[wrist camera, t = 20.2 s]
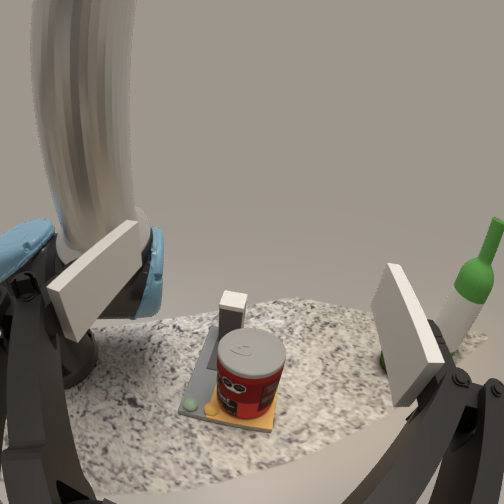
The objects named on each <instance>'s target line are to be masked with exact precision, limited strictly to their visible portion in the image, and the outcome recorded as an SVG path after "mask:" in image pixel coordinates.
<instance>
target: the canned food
mask: <svg viewBox="0 0 504 504" xmlns="http://www.w3.org/2000/svg"><path fill="white" fill-rule="evenodd" d="M285 358H286V350H285V347H284V345H283V343H282V342H281V341H280V340H279V339H278V338H277V337H276V336H274V335H273V334H271V333H269V332H267V331H264V330H261V329H256V328H241V329H236V330H234V331H231V332H229V333H227V334H226V335H225V336H224V337H223V338H222V339H221V340H220V342H219V345H218V349H217V400H218V402H219V404H220V406H221V407H222V408H223V410H224V411H225V412H227V413H228V414H230V415H231V416H234V417H236V418H240V419H252V418H256V417H259V416H261V415H263V414H264V413H265V412H266V411H268V410H269V408H270V407H271V405H272V403H273V400H274V397H275V394H276V391H277V387H278V384H279V381H280V378H281V374H282V371H283V367H284V363H285Z"/></svg>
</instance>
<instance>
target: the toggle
mask: <svg viewBox="0 0 504 504" xmlns="http://www.w3.org/2000/svg"><path fill="white" fill-rule="evenodd" d="M246 301H247V294H243V293H237V292H231V291H225V292H224V294H223V297H222V299H221V301H220V304H219V308H220V310H219V336H218V341H220V340H221V339H222V338H223V337H224V336H225V335H226V334H227V333H229V332H231V331H234V330H236V329H241V328H243V327H244V319H245V310H246Z"/></svg>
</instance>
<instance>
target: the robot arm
mask: <svg viewBox="0 0 504 504" xmlns="http://www.w3.org/2000/svg"><path fill="white" fill-rule="evenodd" d="M136 2H137V0H33V5H32V18H31V42H30V45H31V47H30V54H31V80H32V93H33V102H34V111H35V118H36V125H37V132H38V137H39V142H40V148H41V153H42V158H43V162H44V167H45V171H46V175H47V179H48V183H49V187H50V191H51V195H52V198H53V202H54V205H55V208H56V212H57V215H58V218H59V221H60V224H61V228H60V230H59V232H58V233H55V232H54V231H55V227H54V226H53V224H52V222H51V221H50V220H47V219H35V220H31V221H28V222H25V223H23V224H20V225H18V226H16V227H14V228H12V229H10V230H9V231H7V232H6V233H4V234H3V235H1V236H0V331H1V333H2V334H1V336H0V470H1V464H2V471H3V477H4V482H5V487H6V492H7V497H8V501H9V504H116V503H114V502H112V501H109V500H107V499H105V498H104V500H103V501H98V500H96V497H95V494H94V492H93V490H92V488H91V486H90V484H89V482H88V481H87V480H86V478H85V476H84V475H83V472H82V469H81V466H80V463H79V459H78V455H77V452H76V448H75V444H74V440H73V435H72V431H71V426H70V421H69V416H68V411H67V405H66V399H65V392H64V389H65V388H69V387H72V386H74V385H76V384H78V383H79V382H81V381H82V380H83V379H85V378H86V377H87V376H88V375H89V373H90V372H91V371H92V369H93V368H94V366H95V363H96V361H97V356H98V349H97V344H96V342H95V339H94V336H93V334H92V332H91V330H90V329H89V328H90V327H91V325H92V324H93V323H94V322H95V320H96V319H131V320H135V319H136V318H144V317H152V316H154V315H156V314H157V313H158V311H159V310H160V307H161V299H162V282H163V281H162V275H163V252H164V251H163V250H164V249H163V248H164V247H163V246H164V244H163V232H162V231H161V230H160V229H158V228H154V227H150V224H149V220H148V217H147V216H146V214H145V213H144V212H143V211H142V210H141V209H140V208H138V207H137V206H135V205H134V194H133V184H132V170H131V153H130V126H129V93H130V92H129V91H130V64H131V48H132V36H133V26H134V17H135V9H136ZM371 309H372V312H373V316H374V320H375V323H376V327H377V331H378V335H379V339H380V344H381V348H382V352H383V356H384V361H385V366H386V370H387V375H388V380H389V385H390V390H391V396H392V401H393V407H409V406H410V405H411V404H412V403H413V402H414V401H415V399H416V398H417V402H418V407H417V408H416V409H415V410H414V411H413V412H412V413H411V414H410V415H409V416H408V417H407V418H406V420H407V423H406V424H405V426H404V427H403V429H402V430H401V432H400V433H399V435H398V436H397V438H396V439H395V440H394V442H393V443H392V444H391V446H390V447H389V449H388V450H387V451H386V453H385V454H384V455H383V457H382V458H381V459H380V460H379V462H378V463H377V464H376V465H375V467H374V468H373V469H372V470H371V472H370V473H369V474H368V475H367V476H366V478H365V479H364V480H363V481H362V482H361V483H360V484H359V486H358V487H357V488H356V489H355V490H354V491H353V492H352V493H351V494H350V495H349V496H348V498H347V499H346V500H345V501H344V502H343V503H342V504H416V502H417V500H418V499H419V497H420V496H421V494H422V493H423V491H424V490H425V488H426V486H427V485H428V483H429V481H430V479H431V478H432V476H433V474H434V473H435V471H436V469H437V467H438V465H439V463H440V462H441V460H442V462H441V466H440V470H439V473H438V477H437V480H436V483H435V486H434V489H433V492H432V495H431V498H430V501H429V503H428V504H498V501H499V496H500V491H501V486H502V480H503V473H504V385H503V384H502V382H500V381H499V380H497V379H494V378H491V379H489V380H488V381H487V382H486V383H485V384H484V386H482V385H478V384H475V383H472V381H471V378H470V377H469V375H468V373H466V372H465V371H464V370H463V369H460V368H458V367H456V366H455V364H454V361H453V359H452V356H451V354H450V351H449V349H448V347H447V345H446V342H445V340H444V338H443V335H442V333H441V331H440V329H439V327H438V326H437V325H436V324H435V323H434V321H433V320H428V319H426V316H425V314H424V312H423V310H422V308H421V306H420V304H419V301H418V299H417V297H416V295H415V293H414V291H413V289H412V287H411V285H410V283H409V281H408V279H407V277H406V275H405V274H404V272H403V270H402V268H401V266H400V265H397V264H391V263H387V265H386V267H385V270H384V273H383V276H382V278H381V281H380V284H379V286H378V288H377V291H376V293H375V296H374V298H373V301H372V303H371ZM6 415H7V427H8V439H9V447H8V449H5V450H3V451H2V444H3V435H4V428H5V421H6ZM442 458H443V459H442ZM0 504H2V502H1V501H0Z"/></svg>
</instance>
